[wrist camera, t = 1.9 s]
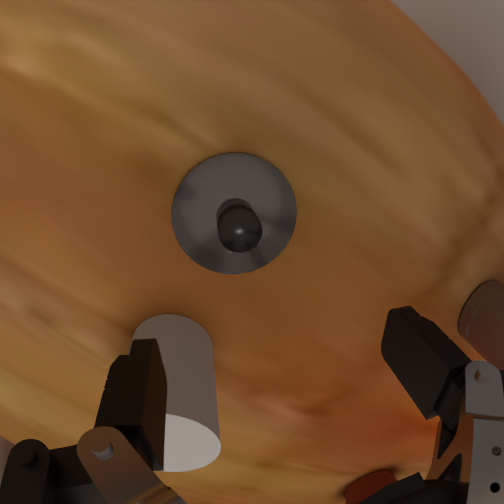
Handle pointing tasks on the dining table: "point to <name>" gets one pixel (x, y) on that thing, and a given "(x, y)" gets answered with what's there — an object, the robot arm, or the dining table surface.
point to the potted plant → (368, 486)
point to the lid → (234, 213)
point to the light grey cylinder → (186, 391)
